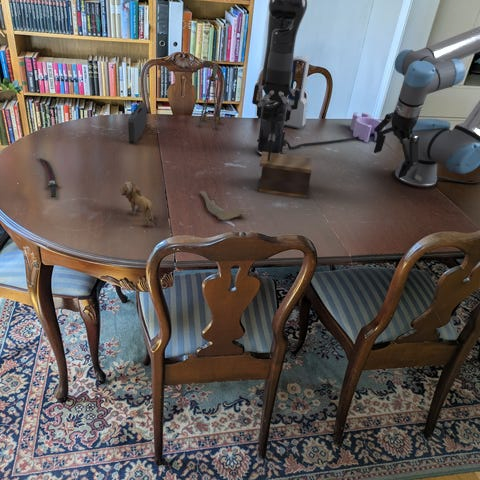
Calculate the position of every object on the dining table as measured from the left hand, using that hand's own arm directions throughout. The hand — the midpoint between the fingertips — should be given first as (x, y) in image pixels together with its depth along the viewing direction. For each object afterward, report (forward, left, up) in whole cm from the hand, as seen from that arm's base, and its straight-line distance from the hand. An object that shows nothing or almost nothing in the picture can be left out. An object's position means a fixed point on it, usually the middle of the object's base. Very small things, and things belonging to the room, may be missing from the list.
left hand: (272, 119), depth 149 cm
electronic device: (-49, -46, -23) cm, 71 cm away
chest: (-5, +4, -23) cm, 24 cm away
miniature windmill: (-13, -59, -23) cm, 65 cm away
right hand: (-36, +21, -12) cm, 44 cm away
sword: (+63, -33, -23) cm, 75 cm away
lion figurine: (+47, +2, -23) cm, 52 cm away
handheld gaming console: (+21, -59, -23) cm, 67 cm away
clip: (-76, -24, -23) cm, 83 cm away
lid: (-5, +4, -14) cm, 16 cm away
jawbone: (+21, +7, -23) cm, 32 cm away
